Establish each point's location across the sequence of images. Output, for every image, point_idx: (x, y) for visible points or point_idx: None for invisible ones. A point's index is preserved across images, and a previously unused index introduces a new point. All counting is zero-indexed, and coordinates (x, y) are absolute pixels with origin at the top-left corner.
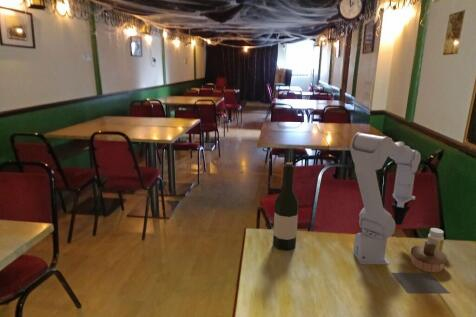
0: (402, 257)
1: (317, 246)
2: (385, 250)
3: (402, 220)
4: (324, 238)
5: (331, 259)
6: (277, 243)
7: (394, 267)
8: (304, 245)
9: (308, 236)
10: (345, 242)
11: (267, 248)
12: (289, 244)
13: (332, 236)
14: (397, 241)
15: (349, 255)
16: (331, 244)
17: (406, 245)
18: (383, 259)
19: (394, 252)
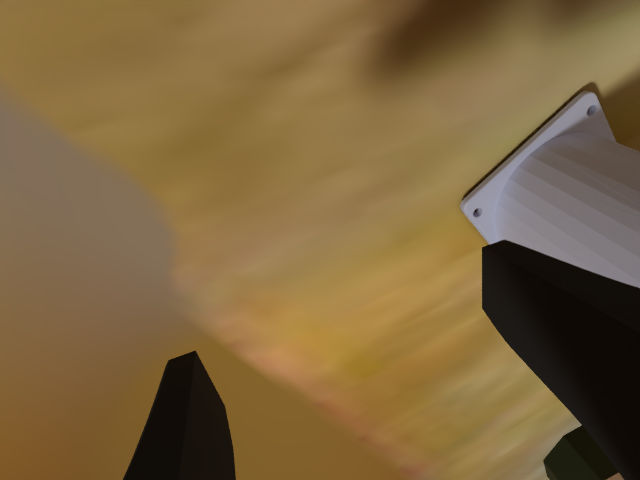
0: (435, 54)
1: (541, 396)
2: (631, 158)
3: (568, 268)
4: (454, 427)
5: None
6: None
7: (600, 49)
8: (555, 420)
9: (473, 461)
10: (438, 365)
11: None
12: None
13: (411, 426)
14: (177, 191)
15: None
16: (495, 382)
17: (190, 105)
18: (592, 135)
19: (391, 131)
